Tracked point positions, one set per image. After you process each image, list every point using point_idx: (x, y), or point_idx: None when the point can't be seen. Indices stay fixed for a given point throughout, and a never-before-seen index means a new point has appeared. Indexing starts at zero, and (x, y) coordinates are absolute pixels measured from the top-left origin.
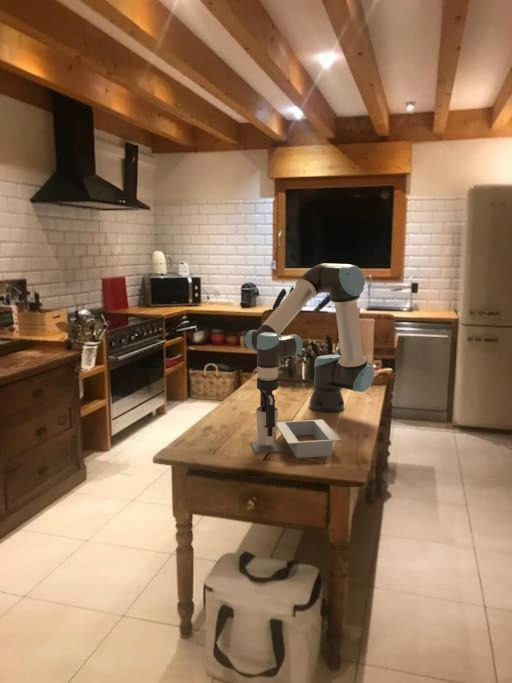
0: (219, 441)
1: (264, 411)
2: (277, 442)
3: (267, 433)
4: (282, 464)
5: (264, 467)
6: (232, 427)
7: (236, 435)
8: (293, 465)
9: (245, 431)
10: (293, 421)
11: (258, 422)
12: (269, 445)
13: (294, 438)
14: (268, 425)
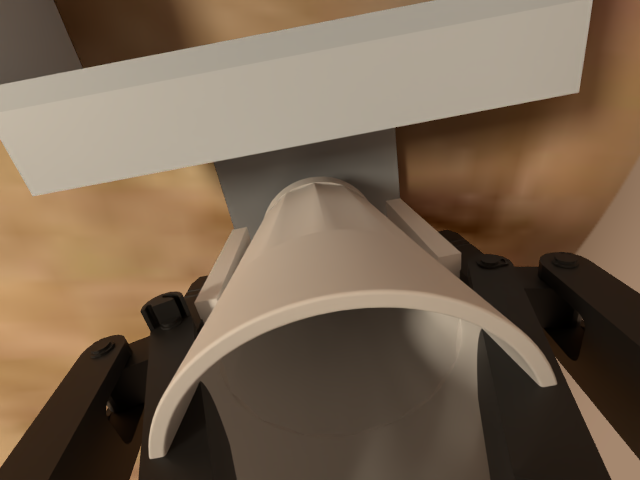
0: None
1: (218, 416)
2: (255, 156)
3: None
4: (565, 138)
5: (571, 231)
6: (39, 388)
7: None
8: (599, 69)
9: (79, 331)
10: None
11: (387, 391)
12: None
13: (481, 16)
14: (579, 327)
